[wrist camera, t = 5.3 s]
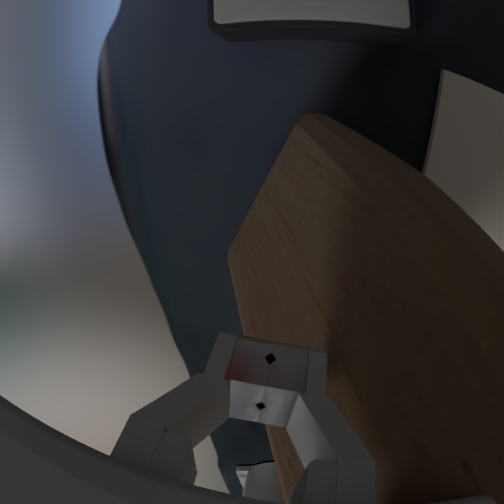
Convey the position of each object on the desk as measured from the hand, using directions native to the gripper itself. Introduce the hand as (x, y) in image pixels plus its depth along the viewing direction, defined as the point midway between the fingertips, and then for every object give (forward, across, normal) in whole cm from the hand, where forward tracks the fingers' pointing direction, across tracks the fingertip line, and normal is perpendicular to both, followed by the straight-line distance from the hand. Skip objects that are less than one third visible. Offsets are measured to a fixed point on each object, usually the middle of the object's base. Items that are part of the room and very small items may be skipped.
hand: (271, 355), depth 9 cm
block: (+12, -2, 0) cm, 12 cm away
